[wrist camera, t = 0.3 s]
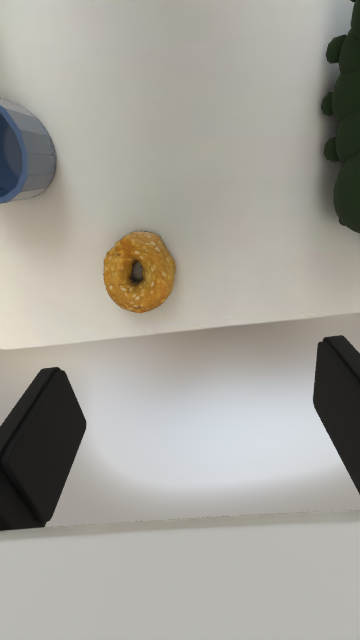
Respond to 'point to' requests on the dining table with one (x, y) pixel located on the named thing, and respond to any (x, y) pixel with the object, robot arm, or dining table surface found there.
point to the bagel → (154, 272)
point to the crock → (23, 154)
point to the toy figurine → (346, 122)
